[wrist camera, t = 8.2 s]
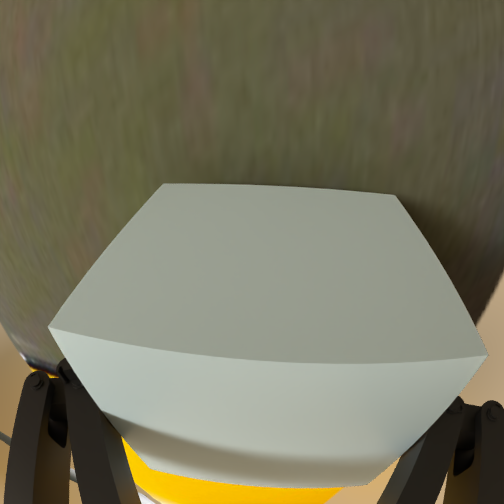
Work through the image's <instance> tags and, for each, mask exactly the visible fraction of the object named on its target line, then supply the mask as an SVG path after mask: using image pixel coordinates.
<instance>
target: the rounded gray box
mask: <svg viewBox="0 0 504 504" xmlns="http://www.w3.org/2000/svg"><path fill="white" fill-rule="evenodd" d="M48 328H49V330H50V332H51V334H52V336H53V337H54V339H55V341H56V343H57V344H58V346H59V348H60V349H61V351H62V353H63V354H64V356H65V358H66V359H67V361H68V362H69V364H70V366H71V367H72V369H73V370H74V372H75V373H76V375H77V377H78V378H79V380H80V381H81V383H82V384H83V385H84V387H85V388H86V390H87V391H88V393H89V394H90V396H91V397H92V398H93V400H94V401H95V402H96V404H97V405H98V407H99V408H100V409H101V411H102V412H103V413H104V415H105V416H106V417H107V418H108V420H109V421H110V422H111V424H112V425H113V426H114V427H115V429H116V430H117V431H118V432H119V434H120V435H121V436H122V437H123V438H124V440H125V441H126V442H127V443H128V444H129V445H130V447H131V448H132V449H133V450H134V451H135V452H136V453H137V455H138V456H139V457H140V458H141V459H142V460H143V461H144V462H145V463H146V464H147V465H148V467H149V468H150V469H153V470H157V471H161V472H166V473H170V474H175V475H180V476H185V477H190V478H196V479H202V480H208V481H214V482H222V483H230V484H238V485H249V486H261V487H279V488H331V487H348V486H361V485H367V484H368V483H370V482H371V481H372V480H373V479H375V478H376V477H377V476H378V475H379V474H381V473H382V472H383V471H384V470H385V469H387V468H388V467H389V466H390V465H391V464H392V463H393V462H394V461H396V460H397V459H398V458H399V457H400V456H401V455H402V454H403V453H404V452H405V451H407V450H408V449H409V448H410V447H411V446H412V445H413V444H414V443H415V442H416V441H417V440H418V439H419V438H420V437H421V436H422V435H423V434H424V433H425V432H426V431H427V430H428V429H429V428H430V427H431V426H432V424H433V423H434V422H435V421H436V420H437V419H438V418H439V417H440V416H441V415H442V414H443V412H444V411H445V410H446V409H447V408H448V407H449V406H450V404H451V403H452V402H453V401H454V400H455V399H456V397H457V396H458V395H459V394H460V392H461V391H462V390H463V389H464V388H465V386H466V385H467V384H468V382H469V381H470V380H471V378H472V377H473V376H474V375H475V373H476V372H477V371H478V369H479V368H480V366H481V365H482V364H483V362H484V361H485V359H486V358H487V357H488V352H487V350H486V348H485V346H484V344H483V342H482V339H481V337H480V335H479V333H478V331H477V329H476V327H475V325H474V323H473V321H472V319H471V317H470V315H469V313H468V311H467V309H466V307H465V305H464V304H463V302H462V300H461V298H460V296H459V294H458V292H457V291H456V289H455V287H454V285H453V284H452V282H451V280H450V278H449V277H448V275H447V273H446V271H445V270H444V268H443V266H442V265H441V263H440V261H439V260H438V258H437V257H436V255H435V253H434V252H433V250H432V249H431V247H430V245H429V244H428V242H427V241H426V239H425V238H424V236H423V235H422V233H421V232H420V230H419V229H418V227H417V226H416V224H415V223H414V221H413V220H412V218H411V217H410V215H409V214H408V213H407V211H406V210H405V208H404V207H403V206H402V204H401V203H400V201H399V200H398V199H397V197H396V196H395V195H389V194H379V193H369V192H358V191H347V190H334V189H320V188H305V187H287V186H266V185H237V184H163V185H162V186H161V187H160V188H159V189H158V190H157V191H156V192H155V193H154V194H153V195H152V196H151V197H150V199H149V200H148V201H147V202H146V203H145V204H144V205H143V206H142V207H141V209H140V210H139V211H138V212H137V213H136V214H135V215H134V216H133V218H132V219H131V220H130V221H129V222H128V223H127V225H126V226H125V227H124V228H123V229H122V230H121V232H120V233H119V234H118V235H117V236H116V237H115V239H114V240H113V241H112V242H111V243H110V245H109V246H108V247H107V248H106V250H105V251H104V252H103V253H102V255H101V256H100V257H99V258H98V260H97V261H96V262H95V263H94V265H93V266H92V267H91V268H90V270H89V271H88V272H87V274H86V275H85V276H84V277H83V279H82V280H81V281H80V283H79V284H78V285H77V287H76V288H75V289H74V291H73V292H72V293H71V295H70V296H69V298H68V299H67V300H66V302H65V303H64V304H63V306H62V307H61V309H60V310H59V311H58V313H57V314H56V316H55V317H54V319H53V320H52V322H51V323H50V324H49V326H48Z"/></svg>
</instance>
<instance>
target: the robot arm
mask: <svg viewBox="0 0 504 504" xmlns="http://www.w3.org/2000/svg"><path fill="white" fill-rule="evenodd" d="M56 373H57V375H58V376H59V378H49V376H48V375H47V374H46V373H45V372H43V371H34V372H33V373H31V374H30V375H29V376H28V377H27V378H26V380H25V382H24V385H23V389H22V393H21V397H20V402H19V405H18V410H17V414H16V419H15V423H14V428H13V434H12V439H11V445H10V451H9V458H8V465H7V473H6V483H5V493H4V504H69V479H70V460H71V450H72V456H73V462H74V468H75V473H76V478H77V483H78V487H79V491H80V496H81V500H82V504H141V501H140V498H139V495H138V492H137V489H136V487H135V483H134V480H133V477H132V474H131V470H130V467H129V464H128V460H127V456H126V453H125V449H124V445H123V442H122V438H121V435H120V434H119V432H118V431H117V430H116V429H115V427H114V426H113V425H112V424H111V422H110V421H109V420H108V418H107V417H106V416H105V415H104V413H103V412H102V411H101V409H100V408H99V407H98V405H97V404H96V402H95V401H94V400H93V398H92V397H91V396H90V394H89V393H88V391H87V390H86V388H85V387H84V385H83V384H82V383H81V381H80V380H79V378H78V377H77V375H76V373H75V372H74V370H73V369H72V367H71V366H70V364H69V362H68V361H67V359H66V358H64V359H63V360H62V361H60V362H59V364H58V366H57V368H56ZM447 472H448V474H447ZM446 474H447V482H446V488H445V495H444V501H443V504H504V409H503V407H502V405H501V404H500V403H498V402H496V401H493V400H490V401H487V402H486V403H484V404H483V405H482V406H475V405H469V404H465V403H464V401H463V400H462V399H461V397H459V396H457V397H456V399H455V400H454V401H453V402H452V403H451V404H450V406H449V407H448V408H447V409H446V410H445V411H444V412H443V414H442V415H441V416H440V417H439V418H438V419H437V420H436V421H435V422H434V423H433V424H432V426H431V427H430V428H429V429H428V430H427V431H426V432H425V433H424V434H423V435H422V436H421V437H420V438H419V439H418V440H417V441H416V442H415V443H414V444H413V445H412V446H411V447H410V448H409V449H408V450H407V451H405V452H404V453H403V454H402V455H401V457H400V459H399V462H398V464H397V466H396V468H395V470H394V472H393V474H392V476H391V478H390V480H389V482H388V484H387V486H386V488H385V490H384V491H383V493H382V495H381V497H380V499H379V501H378V502H377V504H435V502H436V500H437V497H438V495H439V493H440V490H441V488H442V485H443V482H444V480H445V477H446Z"/></svg>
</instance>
